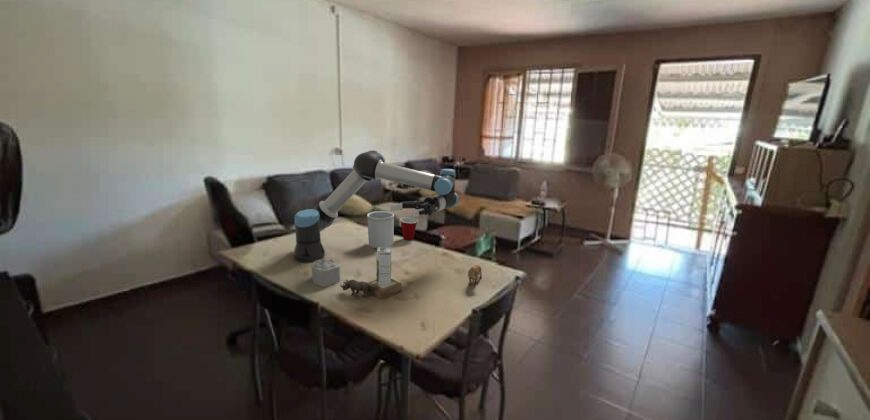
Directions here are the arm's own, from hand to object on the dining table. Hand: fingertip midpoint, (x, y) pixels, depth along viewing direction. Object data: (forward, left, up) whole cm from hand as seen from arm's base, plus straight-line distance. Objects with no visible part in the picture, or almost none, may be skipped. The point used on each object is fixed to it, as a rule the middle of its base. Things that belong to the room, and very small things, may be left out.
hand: (401, 211), depth 167 cm
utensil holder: (-39, +21, -30) cm, 54 cm away
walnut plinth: (+7, -17, -30) cm, 35 cm away
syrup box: (+7, -16, -26) cm, 32 cm away
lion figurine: (+29, +18, -30) cm, 45 cm away
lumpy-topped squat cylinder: (-21, -27, -30) cm, 45 cm away
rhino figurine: (0, -26, -30) cm, 40 cm away
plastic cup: (-35, +39, -30) cm, 61 cm away
